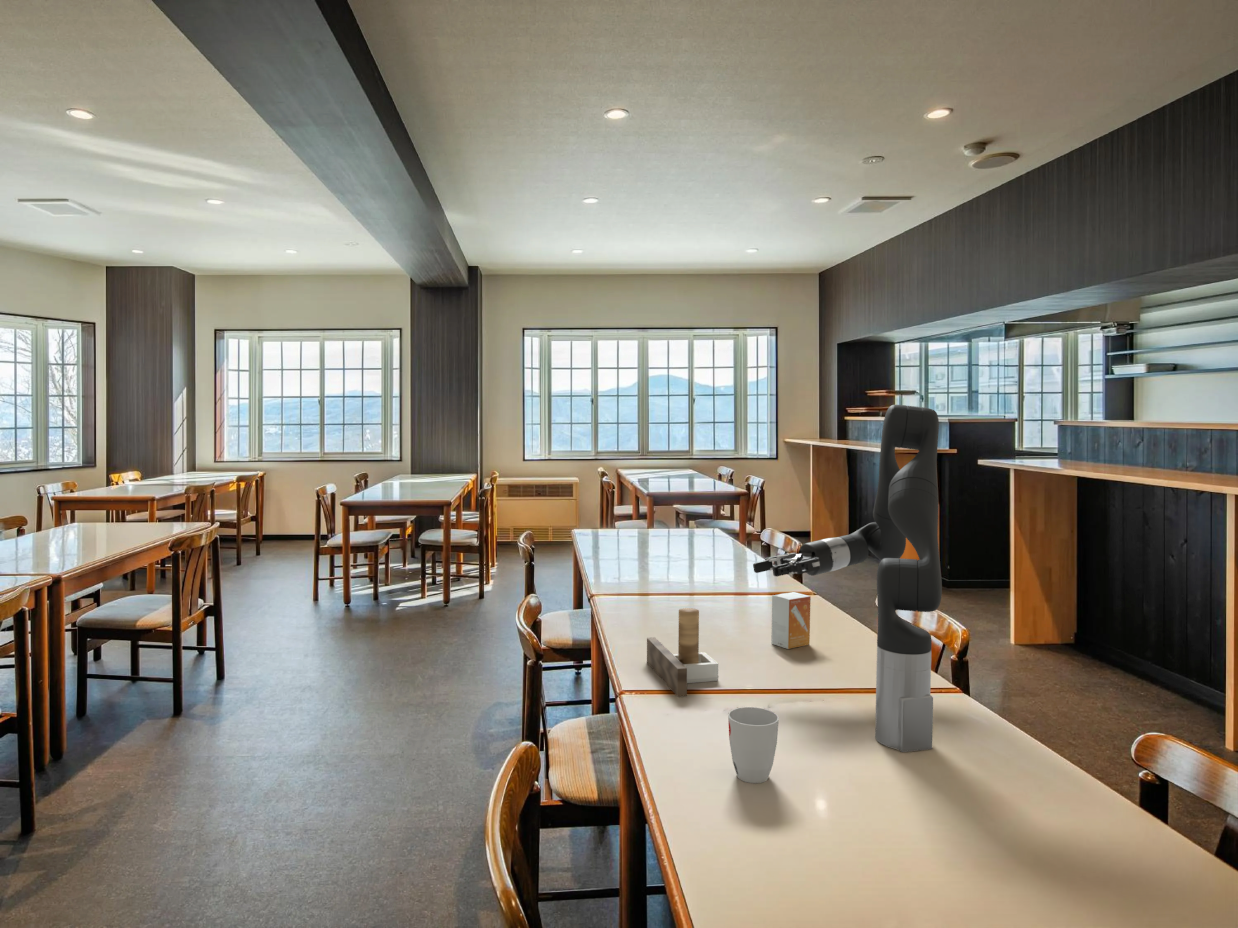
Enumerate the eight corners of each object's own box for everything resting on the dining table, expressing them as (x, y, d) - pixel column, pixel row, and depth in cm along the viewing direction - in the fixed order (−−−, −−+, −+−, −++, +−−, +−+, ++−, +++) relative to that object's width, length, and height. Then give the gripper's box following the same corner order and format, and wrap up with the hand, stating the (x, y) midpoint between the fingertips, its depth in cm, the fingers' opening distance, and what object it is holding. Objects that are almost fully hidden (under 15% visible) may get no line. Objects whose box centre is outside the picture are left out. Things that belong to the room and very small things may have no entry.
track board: (766, 694, 164) (766, 662, 164) (676, 702, 159) (676, 668, 159) (725, 661, 187) (725, 632, 187) (645, 666, 183) (645, 637, 182)
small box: (788, 649, 197) (789, 599, 197) (770, 643, 203) (771, 594, 202) (810, 644, 202) (811, 595, 201) (792, 639, 207) (793, 591, 206)
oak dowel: (701, 674, 171) (701, 612, 170) (681, 676, 170) (682, 613, 169) (694, 668, 175) (695, 607, 174) (675, 669, 174) (676, 608, 173)
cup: (743, 760, 132) (744, 703, 131) (786, 774, 126) (787, 714, 126) (718, 777, 125) (718, 717, 125) (762, 792, 120) (763, 729, 120)
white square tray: (718, 680, 169) (718, 663, 169) (679, 683, 167) (679, 666, 167) (704, 668, 178) (704, 651, 178) (667, 670, 176) (667, 654, 176)
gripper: (804, 538, 184) (745, 551, 179) (840, 541, 171) (777, 555, 166) (809, 569, 185) (750, 583, 179) (846, 574, 171) (783, 590, 166)
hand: (763, 570), depth 172 cm, fingers open, 8 cm apart
